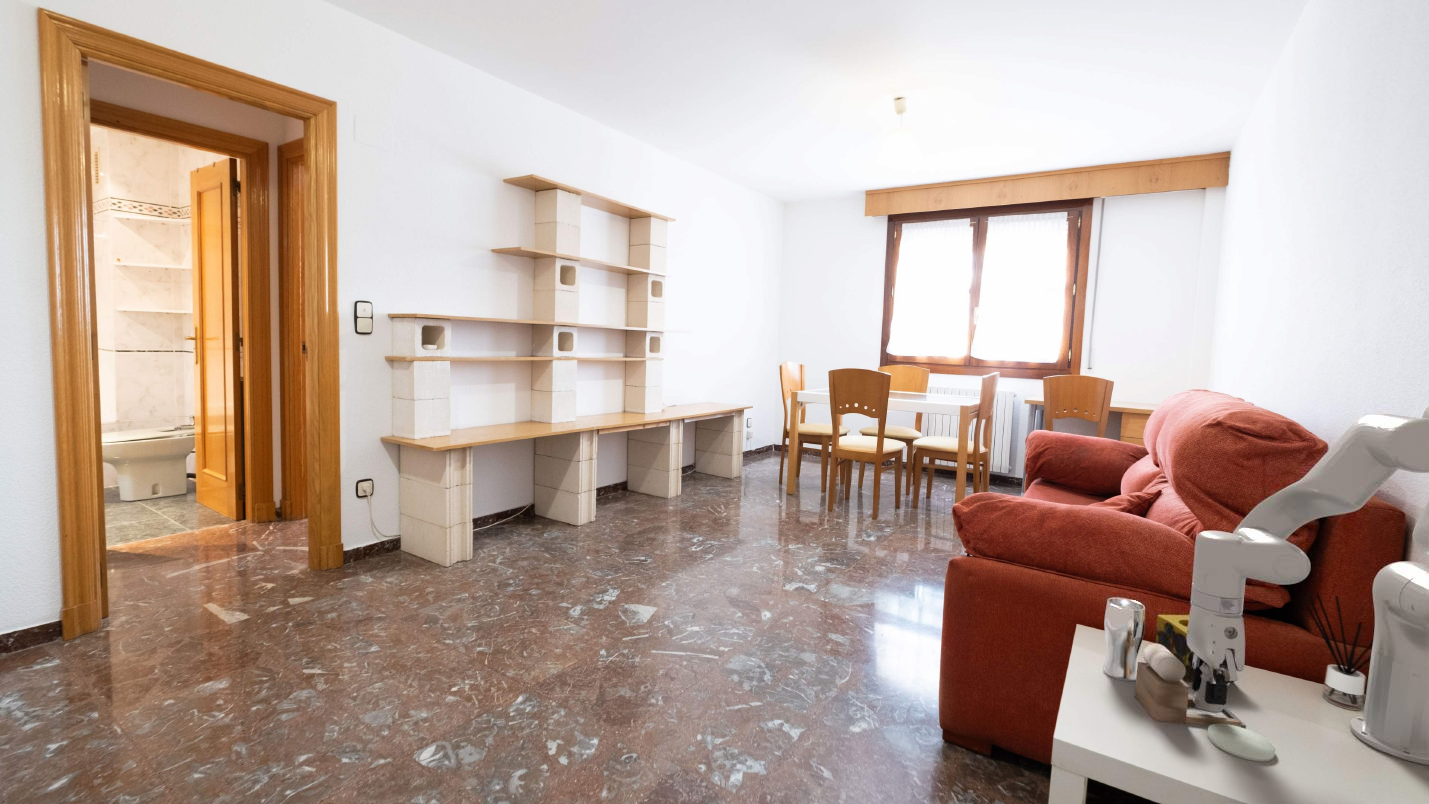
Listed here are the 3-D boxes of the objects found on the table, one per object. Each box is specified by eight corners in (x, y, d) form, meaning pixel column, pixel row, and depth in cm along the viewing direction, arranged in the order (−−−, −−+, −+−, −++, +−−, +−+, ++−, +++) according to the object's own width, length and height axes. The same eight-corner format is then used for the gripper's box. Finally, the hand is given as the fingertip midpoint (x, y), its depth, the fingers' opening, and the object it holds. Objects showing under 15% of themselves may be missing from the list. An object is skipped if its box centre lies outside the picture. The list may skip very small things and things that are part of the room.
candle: (1235, 683, 133) (1240, 636, 132) (1185, 682, 133) (1189, 635, 132) (1199, 659, 143) (1203, 614, 142) (1152, 657, 143) (1156, 613, 142)
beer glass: (1146, 684, 131) (1152, 612, 130) (1107, 680, 133) (1113, 608, 131) (1131, 667, 138) (1137, 598, 137) (1095, 663, 140) (1100, 595, 138)
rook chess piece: (1224, 716, 118) (1228, 674, 117) (1193, 709, 120) (1197, 667, 119) (1221, 705, 122) (1225, 663, 121) (1191, 697, 124) (1195, 657, 123)
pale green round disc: (1252, 732, 116) (1253, 726, 116) (1288, 764, 107) (1288, 759, 107) (1196, 726, 117) (1196, 720, 117) (1226, 757, 109) (1227, 752, 108)
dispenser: (1220, 705, 124) (1226, 647, 123) (1246, 730, 116) (1253, 668, 115) (1134, 696, 127) (1139, 639, 126) (1155, 720, 119) (1160, 660, 118)
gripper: (1270, 621, 110) (1260, 725, 112) (1213, 585, 126) (1205, 676, 128) (1220, 618, 111) (1211, 720, 113) (1170, 582, 128) (1163, 672, 129)
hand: (1208, 696), depth 121 cm, fingers closed on rook chess piece, 3 cm apart
